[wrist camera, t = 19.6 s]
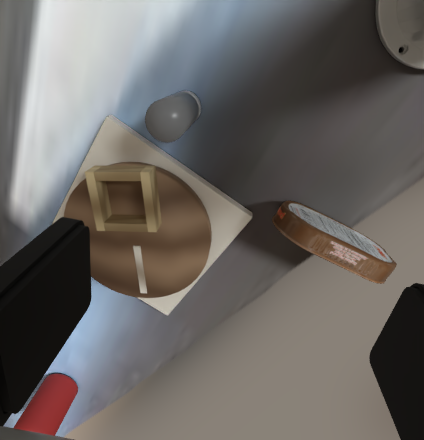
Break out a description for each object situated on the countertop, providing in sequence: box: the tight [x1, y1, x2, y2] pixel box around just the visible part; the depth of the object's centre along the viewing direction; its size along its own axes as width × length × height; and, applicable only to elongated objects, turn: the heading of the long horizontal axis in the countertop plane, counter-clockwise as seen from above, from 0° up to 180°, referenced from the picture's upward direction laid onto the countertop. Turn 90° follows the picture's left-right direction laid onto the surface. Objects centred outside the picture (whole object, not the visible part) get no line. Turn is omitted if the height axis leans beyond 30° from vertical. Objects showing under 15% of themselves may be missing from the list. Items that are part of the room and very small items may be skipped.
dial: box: [64, 162, 212, 298], centre depth 40 cm, size 19×19×4 cm
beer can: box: [14, 373, 78, 436], centre depth 56 cm, size 7×7×12 cm
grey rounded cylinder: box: [145, 90, 201, 142], centre depth 32 cm, size 4×4×10 cm
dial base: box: [52, 115, 252, 316], centre depth 43 cm, size 21×21×2 cm
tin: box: [272, 201, 396, 284], centre depth 37 cm, size 15×3×8 cm, turn 65°
